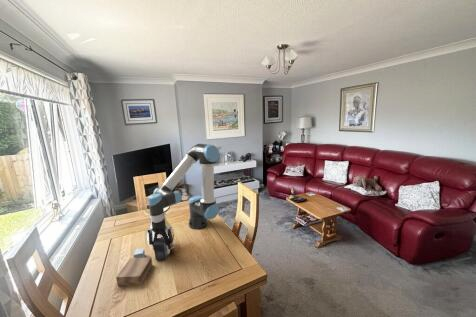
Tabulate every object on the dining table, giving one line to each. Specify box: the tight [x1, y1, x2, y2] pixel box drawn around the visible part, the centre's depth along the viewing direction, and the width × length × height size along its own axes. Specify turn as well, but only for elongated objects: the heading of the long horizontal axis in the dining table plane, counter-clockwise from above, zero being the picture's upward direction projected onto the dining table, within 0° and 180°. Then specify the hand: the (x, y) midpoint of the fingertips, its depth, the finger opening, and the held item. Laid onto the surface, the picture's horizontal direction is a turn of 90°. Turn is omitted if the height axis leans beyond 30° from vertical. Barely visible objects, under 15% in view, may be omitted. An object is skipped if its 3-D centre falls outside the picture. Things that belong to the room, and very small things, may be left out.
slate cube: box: [133, 248, 146, 258], centre depth 120 cm, size 5×5×5 cm
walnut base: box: [115, 256, 153, 287], centre depth 108 cm, size 12×14×5 cm
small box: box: [152, 237, 168, 261], centre depth 122 cm, size 11×6×10 cm, turn 4°
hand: (162, 253), depth 123 cm, fingers closed on small box, 6 cm apart
